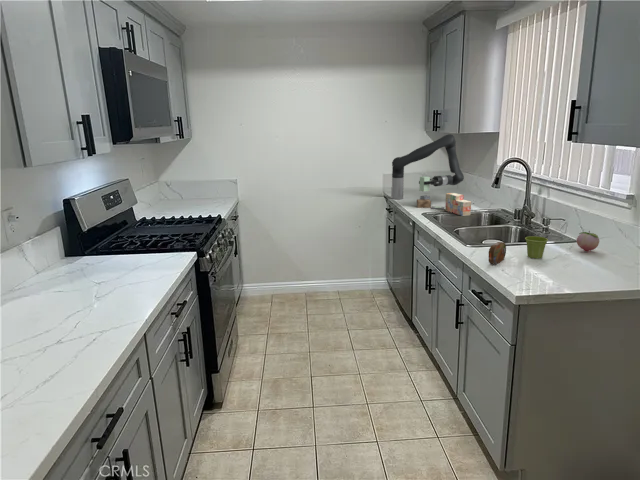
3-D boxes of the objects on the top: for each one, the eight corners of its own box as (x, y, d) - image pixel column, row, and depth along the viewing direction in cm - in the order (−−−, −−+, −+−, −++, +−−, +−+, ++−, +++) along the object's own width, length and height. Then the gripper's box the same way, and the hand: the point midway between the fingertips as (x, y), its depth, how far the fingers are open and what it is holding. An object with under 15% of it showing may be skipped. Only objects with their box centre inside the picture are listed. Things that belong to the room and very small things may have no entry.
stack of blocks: (470, 215, 291) (471, 197, 287) (462, 216, 289) (463, 197, 286) (452, 209, 311) (453, 192, 307) (444, 210, 309) (445, 193, 306)
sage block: (423, 191, 317) (424, 177, 315) (419, 190, 322) (419, 176, 319) (429, 190, 320) (429, 177, 317) (424, 189, 324) (425, 176, 321)
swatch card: (431, 208, 315) (431, 207, 315) (431, 207, 321) (432, 206, 321) (444, 209, 312) (444, 208, 312) (444, 207, 318) (444, 206, 318)
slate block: (424, 204, 332) (424, 196, 330) (420, 203, 336) (420, 195, 335) (429, 203, 334) (429, 196, 333) (425, 202, 338) (425, 195, 337)
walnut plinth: (418, 208, 320) (418, 201, 319) (416, 206, 329) (416, 199, 327) (430, 208, 319) (431, 201, 318) (429, 205, 328) (429, 199, 326)
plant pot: (518, 255, 204) (520, 237, 202) (536, 253, 206) (538, 235, 204) (532, 261, 195) (534, 242, 193) (550, 258, 197) (553, 240, 195)
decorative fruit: (601, 252, 205) (604, 231, 202) (592, 255, 201) (595, 234, 198) (581, 247, 213) (583, 227, 210) (572, 250, 208) (574, 230, 206)
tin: (493, 266, 189) (495, 248, 187) (486, 265, 191) (487, 246, 189) (506, 258, 200) (507, 240, 198) (499, 257, 202) (500, 239, 200)
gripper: (433, 174, 330) (415, 176, 323) (446, 176, 318) (428, 178, 311) (433, 184, 332) (415, 186, 325) (446, 186, 320) (428, 189, 313)
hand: (421, 182), depth 318 cm, fingers closed on sage block, 5 cm apart
